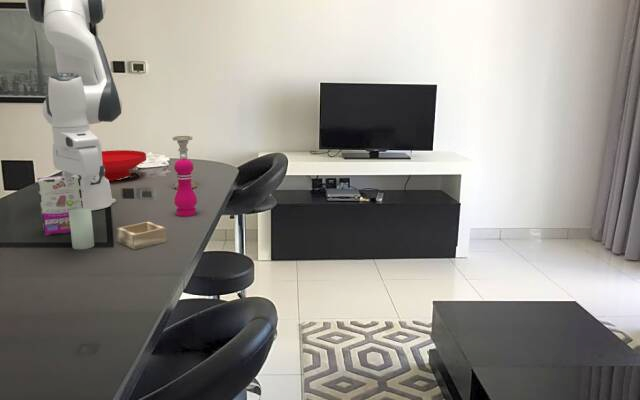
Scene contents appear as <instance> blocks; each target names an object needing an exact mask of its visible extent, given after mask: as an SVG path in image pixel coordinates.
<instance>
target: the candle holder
mask: <svg viewBox="0 0 640 400" xmlns="http://www.w3.org/2000/svg"><path fill="white" fill-rule="evenodd" d="M193 139H194V138H193V136H191V135H176V136H173V137H172V140H173V141H176V142H177V144H178V147H179V148H178V149H177V151H178V152H179V160H180V159H181V155H182V154H185V155H186V159H188V151H189V149H188V146H187V145H188V144H189V141H192V140H193ZM188 160H189V159H188ZM191 186H192V188H194V189H196V188H197V183H195V182H194V181H193V180H191ZM195 187H196V188H195ZM173 188H174V189H175V188H176V189H175V190H178V181H177V182H176V183H175V184H174V185H173Z"/></svg>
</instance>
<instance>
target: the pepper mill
mask: <svg viewBox="0 0 640 400" xmlns="http://www.w3.org/2000/svg"><path fill="white" fill-rule="evenodd" d="M193 170H194V163H193V162H192V161H191V160H190V159H186V155H185V154H182V155H181V159H180V158H179V159H178V160H176V161H175V163H174V171H175V172H176V179H177V182H178V189H176V193H175V195H174V204H175V206H176V207H177V208H176V215H177V216H179V217H192V216H195V215H196V214H197V208H196V205H197V204H198V200H197V195H196V193H195V191H194V189H192V186H191V181H192V179H193V173H192V172H193Z"/></svg>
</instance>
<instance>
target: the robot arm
mask: <svg viewBox="0 0 640 400" xmlns="http://www.w3.org/2000/svg"><path fill="white" fill-rule="evenodd" d="M25 8H26V11H27V13H28V14H29V16H30V18H31V19H32V20H34V21H35V22H37V23H41V24H43V27H44V32H45V37H46V40H47V41H48V42H49V44H50V45H51V46H52V47H53V48H54V56H55V64H56V70H57V71H56V72H57V73H54V74H51V75H49V76H48V86H47V87H48V93H47V94H46V95H45V97H44V98H45V100H44V101H43V103H42V114H43V117H44V119H45V120H46V122H47V123H49V125H51V130H52V137H53V144H52V159H53V166H54V169H55V170H59V171H61V173H62V176H63V177H64V179H65V182H66V186H67V187H70V188H71V187H74V186H75V184H74V183H75V182H74V180H73V178H72V175H78V176H79V178H80V186H81V194H82V203H83V208H89V209H91V211H97V210H101V209H106V208H108V207H111V206H112V205H113V204H114V203H116V198H113V197H112V191H111V184H110V182H109V180H108V179H107V178H105V176H104V175H105V168H104V165H103V161H102V144H101V142H100V140H99V138H98V136H97V135H95V134H94V133H93V132H92V130H91V129H90V125H95V124H100V123H102V122H105V123H107V122H109V123H112V122H114V121H115V120H117V119H118V117H120V116H121V114H122V111H123V102H122V98H121V95H120V93H119V91H118V88H117V87H116V83H115V81H114V78H113V74H112V71H111V67H110V64H109V61H108V58H107V55H106V53H105V50H104V46H103V44H102V41H101V40H100V39H99V37H98V36H96V35H94V34H93V33H91V32H90V30H89V27H88V24H91V28H95V25H97V24H100V23H101V22H102V21H103V19H104V18H105V14H106V9H107V8H106V1H105V0H25Z"/></svg>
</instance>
